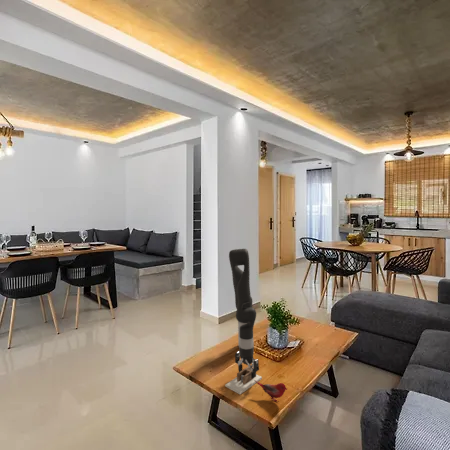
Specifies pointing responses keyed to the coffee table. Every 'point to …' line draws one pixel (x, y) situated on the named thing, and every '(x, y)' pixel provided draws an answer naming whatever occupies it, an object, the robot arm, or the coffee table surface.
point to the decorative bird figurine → (273, 390)
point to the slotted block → (245, 375)
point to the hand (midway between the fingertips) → (246, 374)
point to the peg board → (241, 384)
